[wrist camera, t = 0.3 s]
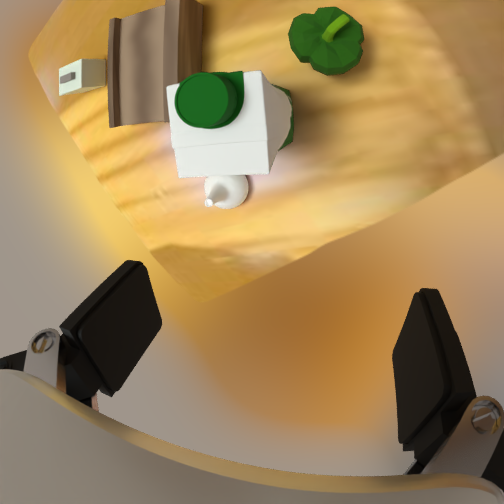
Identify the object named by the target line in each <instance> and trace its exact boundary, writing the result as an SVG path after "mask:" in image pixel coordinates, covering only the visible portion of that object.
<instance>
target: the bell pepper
mask: <svg viewBox="0 0 504 504" xmlns="http://www.w3.org/2000/svg"><path fill="white" fill-rule="evenodd" d="M288 35H289V41H290V46H291V49H292V51H293V52H294V53H295V55H296V56H297V58H298V59H299V60H300V62H303V63H311V65H312V67H313V69H314V70H316V71H318V72H321V73H323V74H325V75H327V76H328V75H337V74H344V73H345V72H347V71H348V70H350V69H351V68H353V67H354V66H356V65H357V64H358V63H359V61H360V58H361V55H362V53H363V50H362V48H361V46H360V45H361V43H362V42H363V40H364V35H363V29H362V25H361V24H359V23H358V22H357V21H356V20H355V19H354V18H353V17H351V16H350V15H349V14H347V13H346V12H344V11H342V10H341V9H339V8H337V7H324V8H318V9H317V11H316V12H315V14H306V13H303V14H301V15H299V16H297V17H295V18H294V19H293V21H292V24H291V27H290V30H289V33H288Z"/></svg>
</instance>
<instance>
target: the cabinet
mask: <svg viewBox="0 0 504 504" xmlns="http://www.w3.org/2000/svg"><path fill="white" fill-rule="evenodd" d="M104 86H106V60H105V59H80V60H78V61H75V62H73V63H71V64H69V65H67V66H64V67H62V68H60V69H59V96H61V95H68V94H76V93H84V92H87V91H90V90H93V89H97V88H100V87H104Z"/></svg>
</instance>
